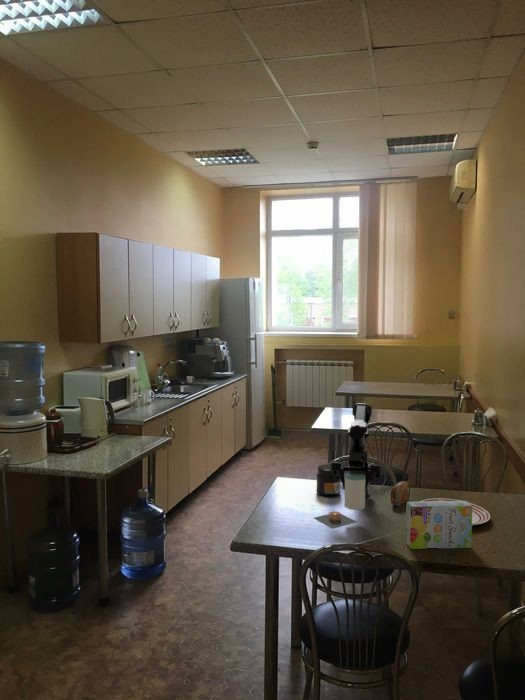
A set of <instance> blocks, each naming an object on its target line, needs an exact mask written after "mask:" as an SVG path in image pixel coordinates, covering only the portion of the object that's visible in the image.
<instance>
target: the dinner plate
mask: <svg viewBox="0 0 525 700" xmlns="http://www.w3.org/2000/svg"><path fill="white" fill-rule="evenodd" d="M421 501H461V500H459V499H453V498H443V497H442V498H441V497H440V498H439V497H436V498H435V497H434V498H426V499H422V500H421ZM467 502H468V503H469V504H471V505H472V526H477V525H482V524H484V523H487V522H488V521H490V519H491V514H490V513H489V511H488V510H486V509H485V508H483V507H481V506H479V505H477V504H475V503H471V502H469V501H467Z"/></svg>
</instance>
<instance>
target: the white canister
mask: <svg viewBox="0 0 525 700" xmlns="http://www.w3.org/2000/svg"><path fill="white" fill-rule="evenodd" d="M344 476H345V490H344V508H346V509H348V510H351V511H352V510H353V511H360V510H364V509H365V507H366V497H365V478H366V475H365V474H363V473H359V472H348V471H347V472H346V473H344Z"/></svg>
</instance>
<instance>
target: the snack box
mask: <svg viewBox="0 0 525 700" xmlns="http://www.w3.org/2000/svg"><path fill="white" fill-rule="evenodd" d="M468 502H469V501H467V500H460V501H422V500H420V501H407V502H405V503H406V505H405V506H406V507H405V508H406V509H405V511H406V512H405V515H406V516H405V518H406V519H405V543H406V545H407V546H408V548H409V549H410V550H417V549H418V550H421V549H422V550H424V549H425V550H427V548H438V549H471V548H472V544H473V543H472V541H473V540H472V539H473V538H472V536H473V535H472V534H473V533H472V532H473V525H472V505H471V504H469V503H470V502H469V503H468Z"/></svg>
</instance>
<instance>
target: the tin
mask: <svg viewBox="0 0 525 700" xmlns="http://www.w3.org/2000/svg"><path fill="white" fill-rule="evenodd" d="M410 497H411V485H410V482H409V481H404V480H403V481H402V480H401V481H399V482H398V483H396V484H395V485H393V486H392V488H391V490H390V504H391V505H392V506H395V507H401V506H403V505H404V504H405V503H406V501H407V502H409V499H410ZM403 503H404V504H403Z"/></svg>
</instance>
